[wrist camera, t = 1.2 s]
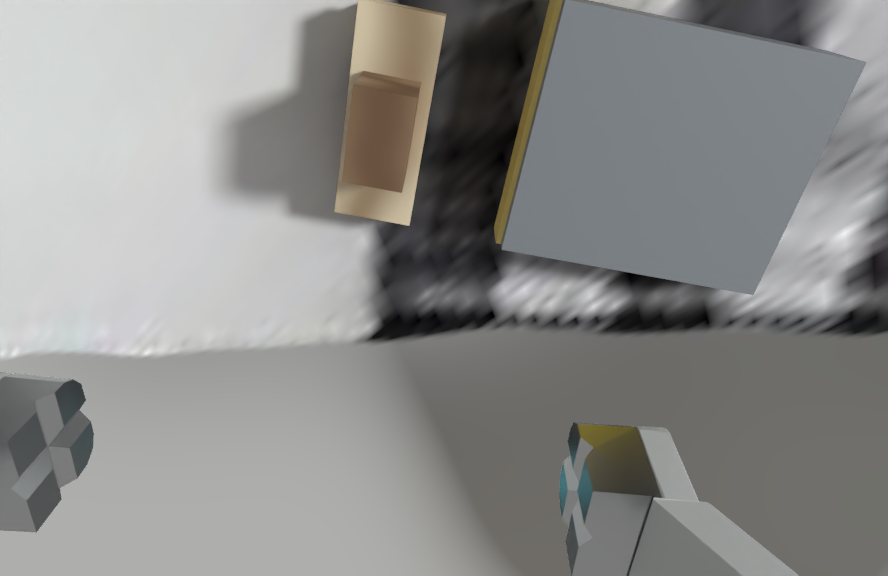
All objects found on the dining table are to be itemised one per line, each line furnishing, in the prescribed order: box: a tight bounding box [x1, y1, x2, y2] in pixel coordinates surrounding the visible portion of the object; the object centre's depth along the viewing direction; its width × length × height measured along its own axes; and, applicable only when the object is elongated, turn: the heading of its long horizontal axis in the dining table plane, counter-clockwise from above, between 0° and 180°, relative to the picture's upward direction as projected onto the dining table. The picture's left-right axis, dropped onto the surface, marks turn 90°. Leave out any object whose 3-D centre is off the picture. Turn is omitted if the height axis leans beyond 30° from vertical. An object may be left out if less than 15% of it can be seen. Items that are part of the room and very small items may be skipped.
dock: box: [494, 0, 866, 295], centre depth 37 cm, size 16×14×4 cm
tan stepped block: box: [334, 0, 446, 226], centre depth 37 cm, size 5×12×3 cm, turn 169°
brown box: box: [342, 71, 422, 193], centre depth 34 cm, size 3×5×4 cm, turn 169°
